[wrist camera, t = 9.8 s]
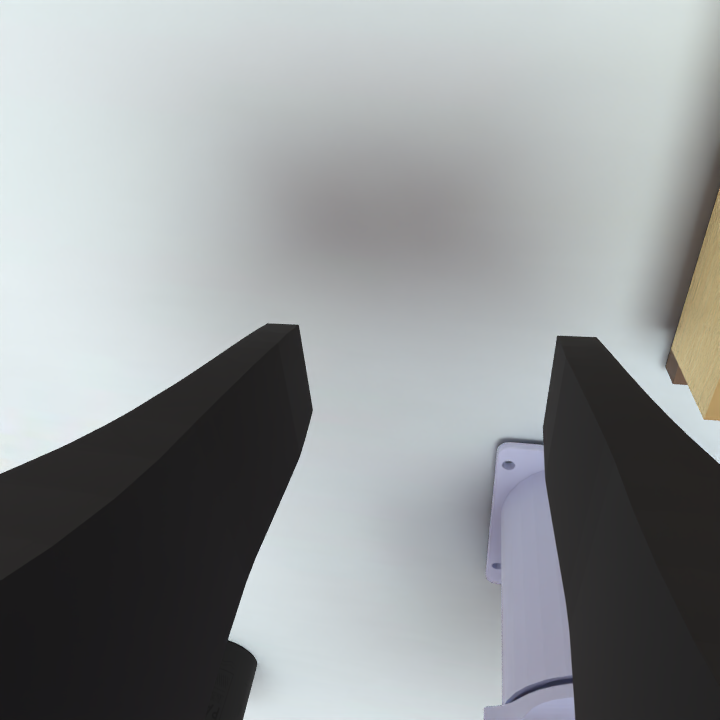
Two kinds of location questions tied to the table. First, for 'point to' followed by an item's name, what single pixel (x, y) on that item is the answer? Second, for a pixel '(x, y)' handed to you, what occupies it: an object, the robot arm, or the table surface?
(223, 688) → the drinking cup
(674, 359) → the board
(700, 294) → the tan slotted block
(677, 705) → the robot arm
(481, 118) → the table surface
